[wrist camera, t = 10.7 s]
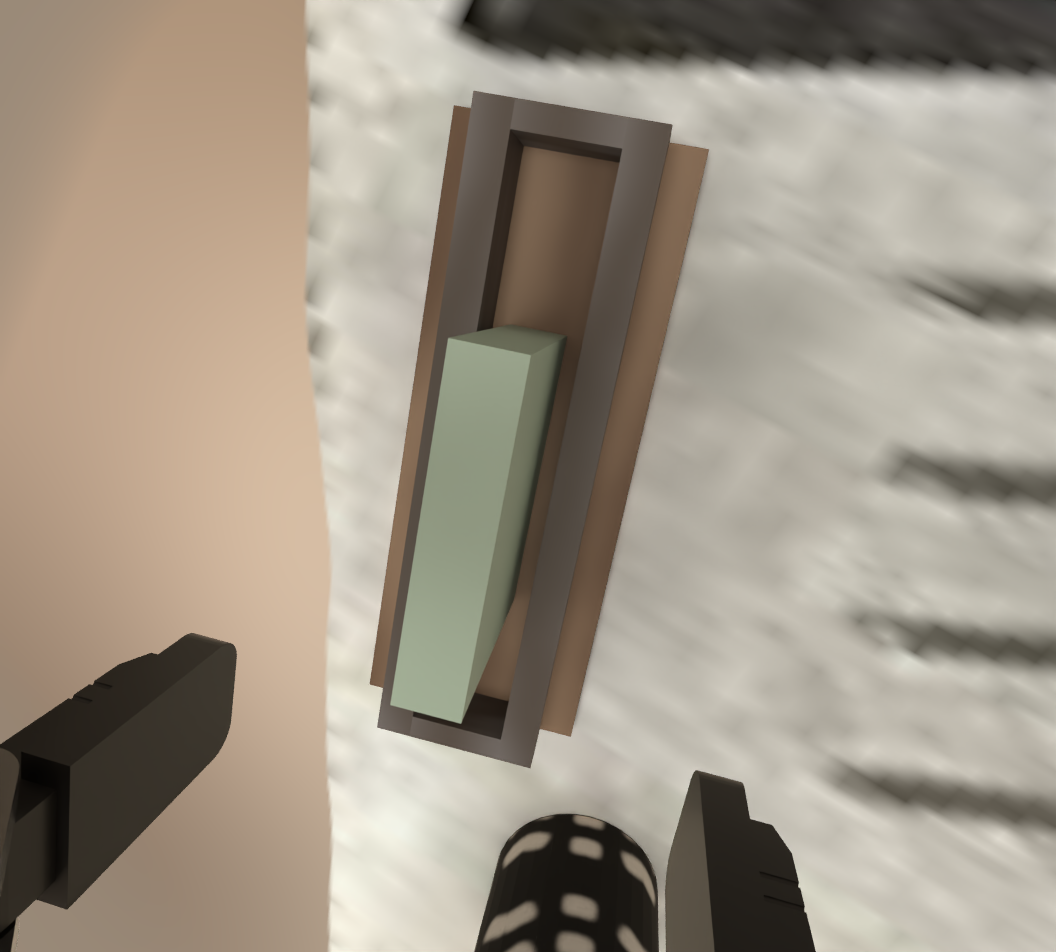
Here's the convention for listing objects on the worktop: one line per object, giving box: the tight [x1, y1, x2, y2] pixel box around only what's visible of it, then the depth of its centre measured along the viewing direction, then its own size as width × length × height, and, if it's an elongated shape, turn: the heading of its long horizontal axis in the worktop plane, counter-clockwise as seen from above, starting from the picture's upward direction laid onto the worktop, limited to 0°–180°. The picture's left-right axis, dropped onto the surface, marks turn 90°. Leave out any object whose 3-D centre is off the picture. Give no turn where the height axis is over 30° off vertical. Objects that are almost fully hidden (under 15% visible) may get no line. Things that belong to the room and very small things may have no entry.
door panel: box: [390, 324, 567, 724], centre depth 27 cm, size 2×12×10 cm, turn 169°
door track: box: [370, 91, 709, 768], centre depth 30 cm, size 10×26×4 cm, turn 169°
